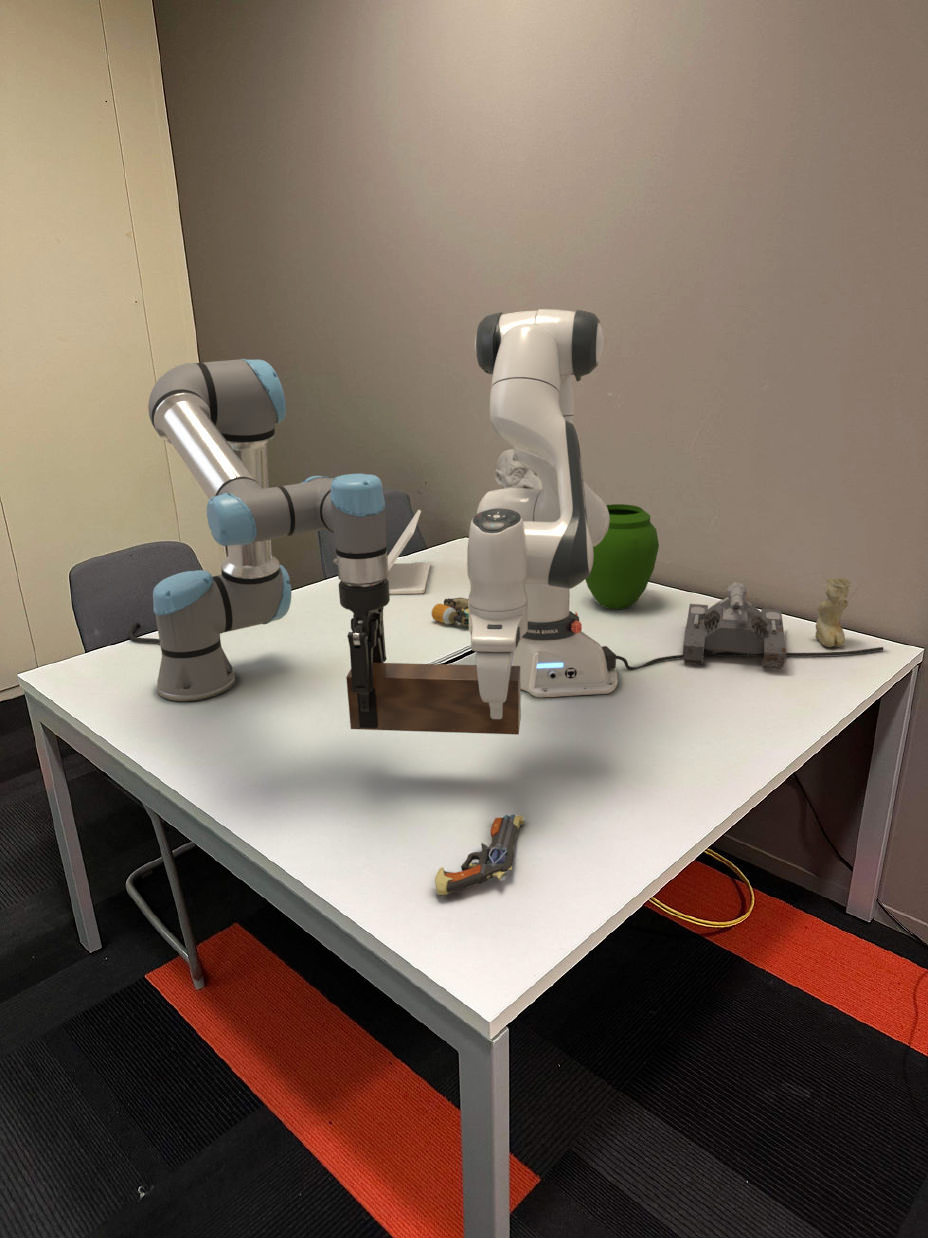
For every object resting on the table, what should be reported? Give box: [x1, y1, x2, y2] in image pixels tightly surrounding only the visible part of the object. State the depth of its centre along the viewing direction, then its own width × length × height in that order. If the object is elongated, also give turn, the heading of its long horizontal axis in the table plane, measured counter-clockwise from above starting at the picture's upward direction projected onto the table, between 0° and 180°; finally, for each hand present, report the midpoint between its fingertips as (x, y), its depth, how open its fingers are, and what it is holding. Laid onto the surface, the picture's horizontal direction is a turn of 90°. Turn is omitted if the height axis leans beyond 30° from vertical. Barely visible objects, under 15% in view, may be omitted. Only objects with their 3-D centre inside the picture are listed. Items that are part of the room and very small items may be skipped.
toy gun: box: [434, 813, 525, 896], centre depth 119 cm, size 3×19×10 cm
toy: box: [682, 581, 787, 670], centre depth 184 cm, size 25×20×15 cm
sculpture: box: [814, 576, 852, 648], centre depth 185 cm, size 6×7×15 cm
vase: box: [584, 503, 660, 610], centre depth 210 cm, size 20×20×24 cm
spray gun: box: [430, 597, 469, 627], centre depth 208 cm, size 4×17×15 cm
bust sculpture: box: [494, 448, 543, 489], centre depth 231 cm, size 16×24×35 cm
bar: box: [345, 662, 522, 736], centre depth 133 cm, size 26×6×9 cm, turn 83°
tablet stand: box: [386, 509, 431, 595], centre depth 236 cm, size 18×25×17 cm
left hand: (373, 717), depth 136 cm, fingers closed on bar, 6 cm apart
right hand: (499, 703), depth 132 cm, fingers open, 8 cm apart
